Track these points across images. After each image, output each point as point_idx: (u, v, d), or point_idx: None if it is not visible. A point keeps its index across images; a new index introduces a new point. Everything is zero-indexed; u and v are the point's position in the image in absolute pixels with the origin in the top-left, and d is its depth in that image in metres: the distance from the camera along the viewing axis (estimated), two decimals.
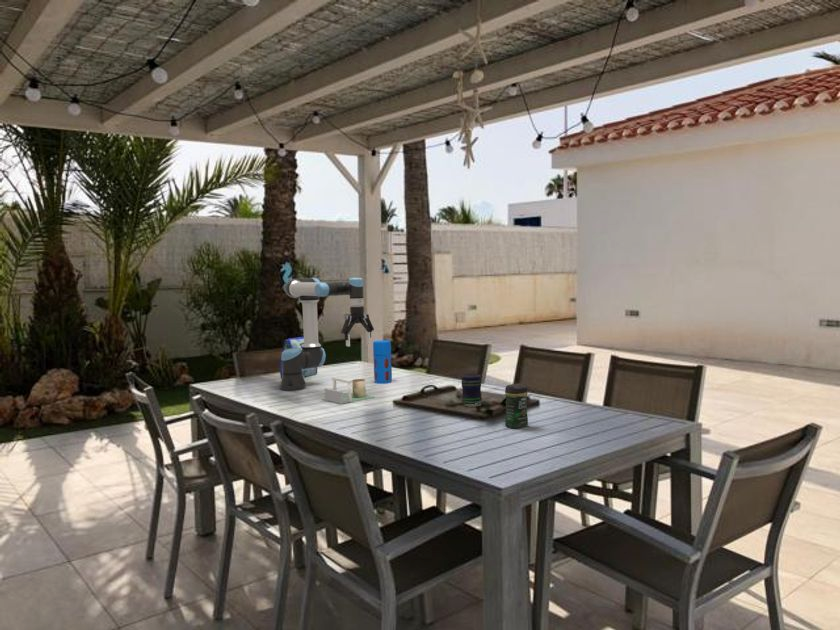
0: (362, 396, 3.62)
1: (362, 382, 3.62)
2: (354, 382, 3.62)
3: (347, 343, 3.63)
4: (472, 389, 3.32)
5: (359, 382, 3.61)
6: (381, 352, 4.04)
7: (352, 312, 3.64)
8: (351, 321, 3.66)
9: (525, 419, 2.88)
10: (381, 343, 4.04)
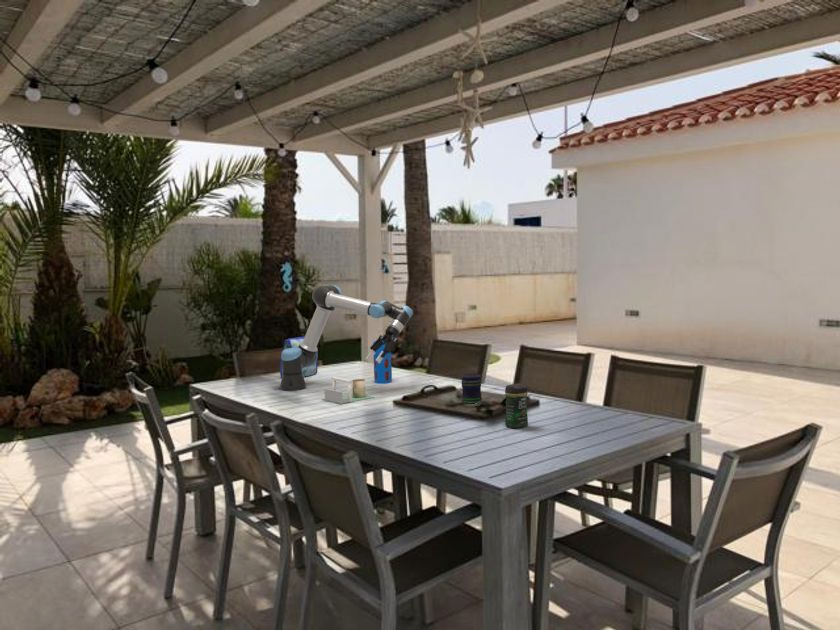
0: (362, 396, 3.62)
1: (362, 382, 3.62)
2: (354, 382, 3.62)
3: (379, 359, 3.67)
4: (472, 389, 3.32)
5: (359, 382, 3.61)
6: None
7: (396, 335, 3.75)
8: (387, 340, 3.73)
9: (525, 419, 2.88)
10: None
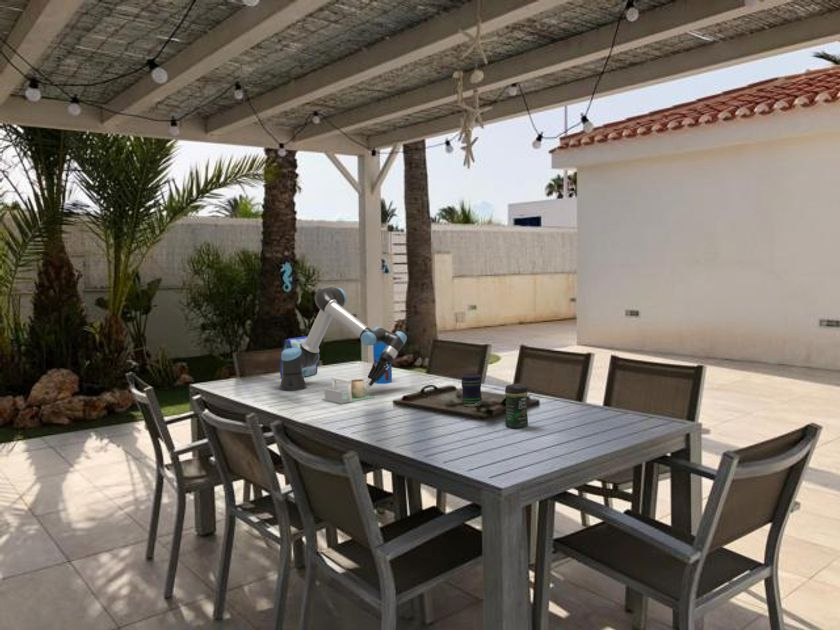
0: (361, 396, 3.61)
1: (361, 382, 3.61)
2: (353, 382, 3.61)
3: (367, 387, 3.66)
4: (472, 389, 3.32)
5: (358, 382, 3.60)
6: (381, 352, 4.04)
7: (390, 361, 3.72)
8: (380, 367, 3.71)
9: (525, 419, 2.88)
10: (381, 343, 4.04)
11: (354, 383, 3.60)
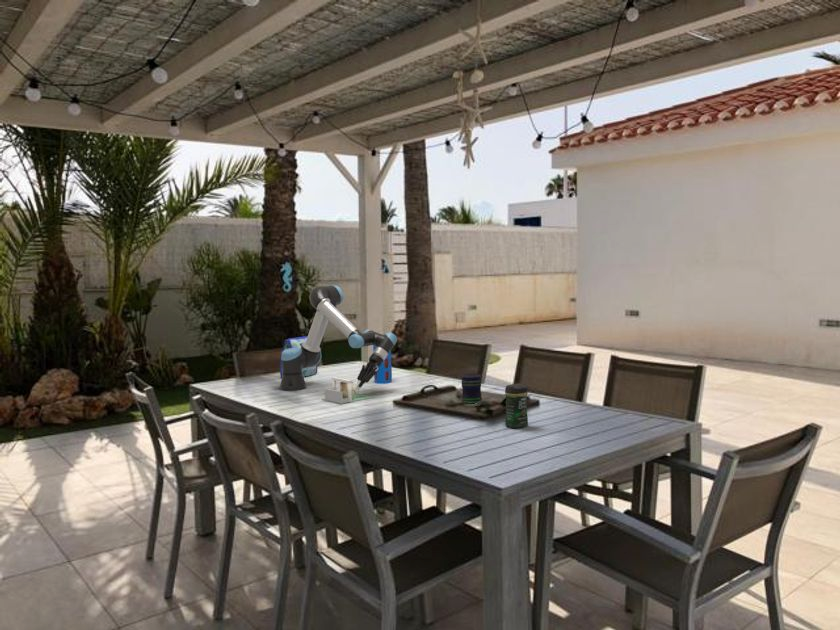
0: None
1: None
2: (342, 384, 3.56)
3: (357, 389, 3.62)
4: (472, 389, 3.32)
5: (347, 384, 3.55)
6: None
7: (379, 363, 3.68)
8: (369, 368, 3.66)
9: (525, 419, 2.88)
10: None
11: (343, 385, 3.56)
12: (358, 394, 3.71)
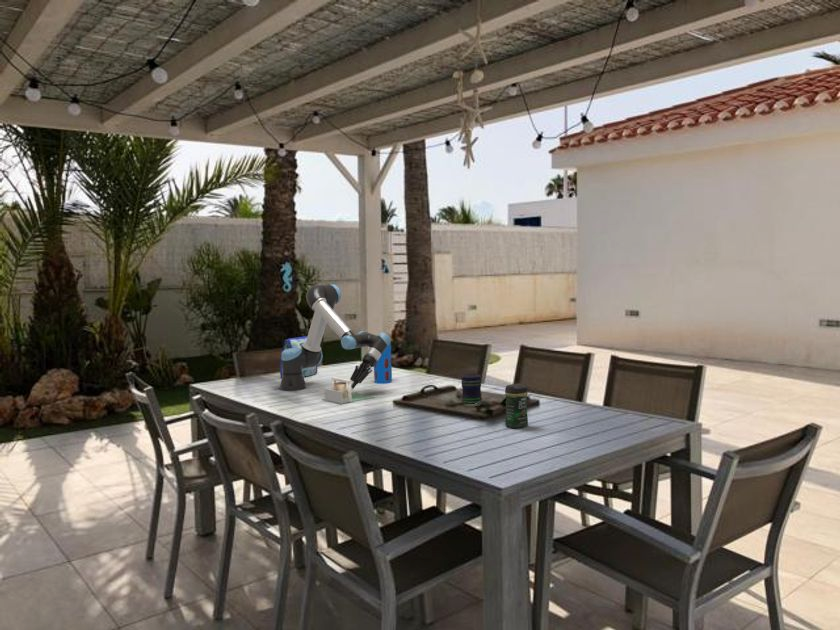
0: None
1: (344, 385, 3.54)
2: (336, 385, 3.53)
3: None
4: (472, 389, 3.32)
5: (341, 385, 3.53)
6: None
7: (373, 363, 3.66)
8: (362, 369, 3.64)
9: (525, 419, 2.88)
10: None
11: (337, 386, 3.53)
12: (358, 394, 3.71)
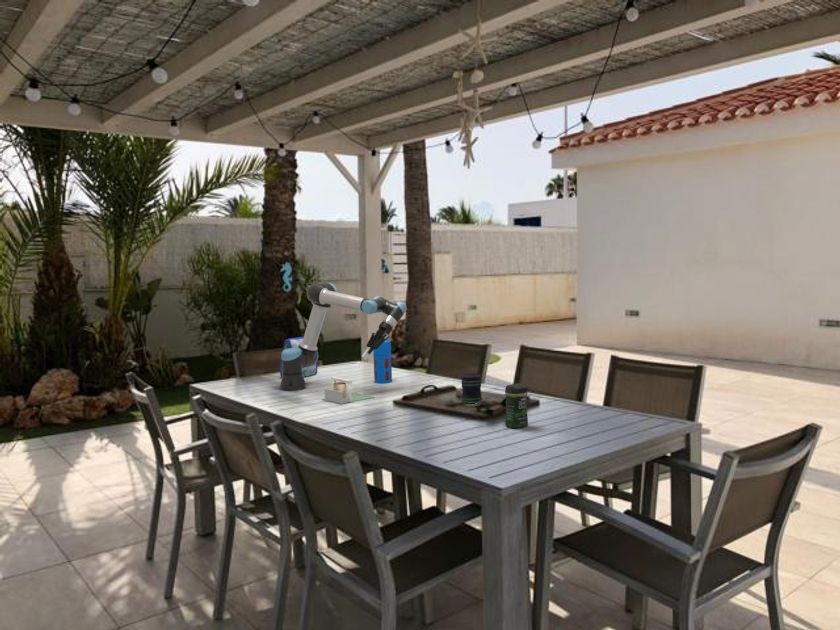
0: None
1: (343, 385, 3.54)
2: (335, 385, 3.53)
3: (366, 355, 3.68)
4: (472, 389, 3.32)
5: (340, 385, 3.53)
6: (381, 352, 4.04)
7: (389, 330, 3.74)
8: (379, 336, 3.72)
9: (525, 419, 2.88)
10: None
11: (337, 386, 3.53)
12: (358, 394, 3.71)
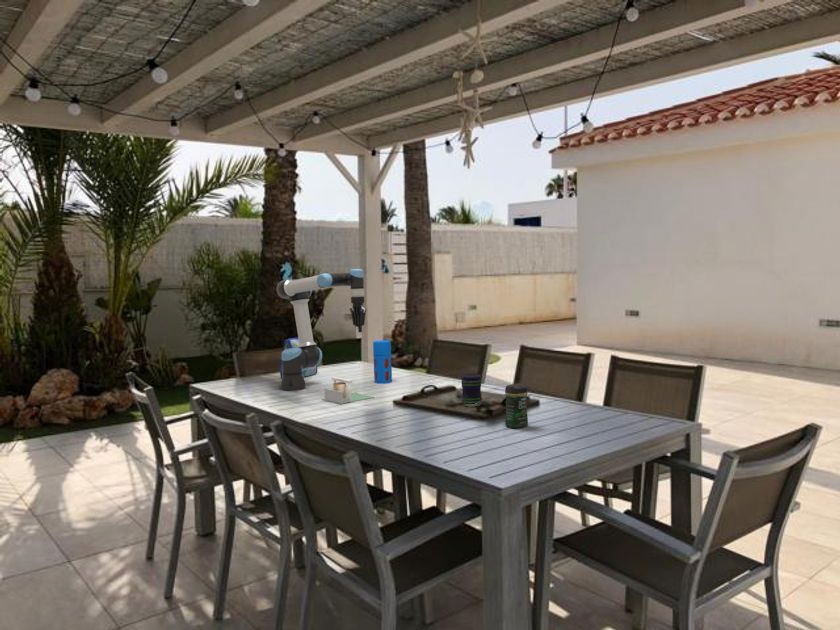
0: None
1: (343, 385, 3.54)
2: (335, 385, 3.53)
3: (359, 335, 3.81)
4: (472, 389, 3.32)
5: (340, 385, 3.53)
6: (381, 352, 4.04)
7: (362, 301, 3.78)
8: (358, 312, 3.79)
9: (525, 419, 2.88)
10: (381, 343, 4.04)
11: (337, 386, 3.53)
12: (358, 394, 3.71)
